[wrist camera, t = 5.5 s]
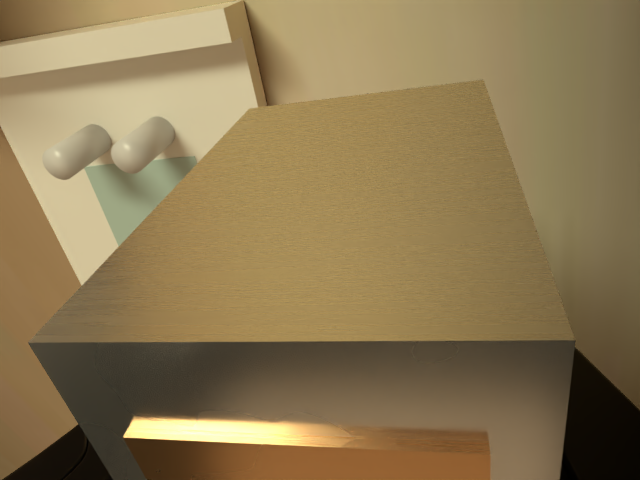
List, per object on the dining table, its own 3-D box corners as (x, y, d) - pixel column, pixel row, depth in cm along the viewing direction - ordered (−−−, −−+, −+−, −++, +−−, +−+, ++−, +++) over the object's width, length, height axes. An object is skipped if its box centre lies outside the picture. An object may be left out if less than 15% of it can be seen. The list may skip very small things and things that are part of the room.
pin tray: (243, -1, 17) (205, 16, 14) (327, 375, 26) (315, 432, 23) (-19, 45, 20) (-96, 67, 17) (141, 372, 29) (109, 422, 26)
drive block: (483, 79, 8) (579, 352, 3) (485, 386, 12) (531, 750, 6) (249, 108, 9) (20, 352, 4) (317, 383, 13) (242, 698, 7)
